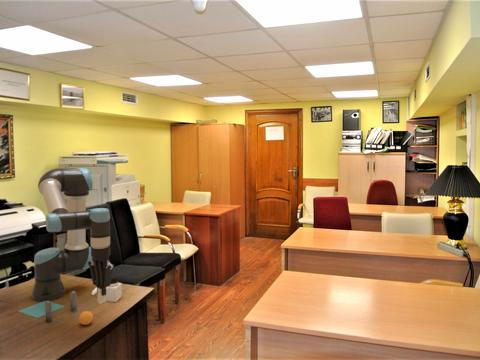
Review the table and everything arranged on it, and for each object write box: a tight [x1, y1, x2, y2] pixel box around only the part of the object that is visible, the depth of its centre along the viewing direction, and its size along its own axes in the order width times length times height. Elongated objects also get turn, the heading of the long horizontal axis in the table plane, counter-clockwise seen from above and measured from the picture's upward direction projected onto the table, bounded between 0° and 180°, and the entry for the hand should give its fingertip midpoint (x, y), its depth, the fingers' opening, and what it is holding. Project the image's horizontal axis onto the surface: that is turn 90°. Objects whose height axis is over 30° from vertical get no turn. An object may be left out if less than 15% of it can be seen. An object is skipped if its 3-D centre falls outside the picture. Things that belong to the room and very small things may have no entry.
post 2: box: [69, 290, 78, 313], centre depth 178 cm, size 3×3×9 cm
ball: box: [78, 310, 94, 326], centre depth 165 cm, size 6×6×6 cm
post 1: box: [44, 300, 53, 324], centre depth 167 cm, size 3×3×9 cm
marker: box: [91, 286, 97, 296], centre depth 205 cm, size 18×2×2 cm, turn 4°
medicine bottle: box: [106, 273, 123, 303], centre depth 192 cm, size 7×7×12 cm
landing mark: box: [17, 301, 65, 319], centre depth 180 cm, size 14×14×1 cm
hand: (101, 302), depth 160 cm, fingers closed
